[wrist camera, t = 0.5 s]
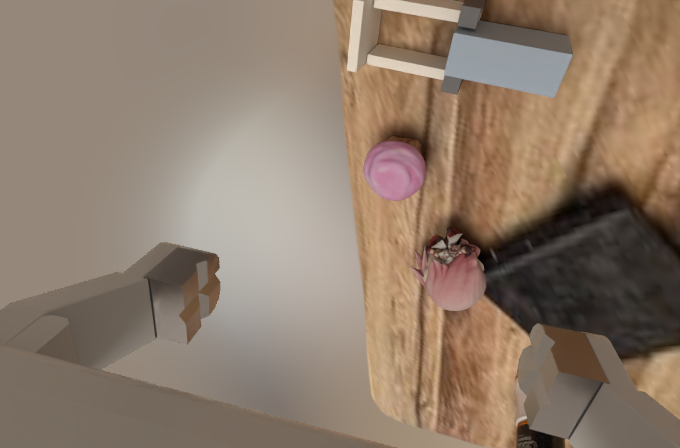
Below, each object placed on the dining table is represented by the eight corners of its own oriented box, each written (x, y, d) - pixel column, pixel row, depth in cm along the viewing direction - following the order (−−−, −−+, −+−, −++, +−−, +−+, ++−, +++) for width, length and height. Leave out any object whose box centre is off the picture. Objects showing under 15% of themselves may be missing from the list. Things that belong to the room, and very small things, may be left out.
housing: (486, -3, 47) (479, 12, 41) (464, 77, 53) (454, 100, 47) (376, -21, 50) (354, -9, 44) (367, 57, 56) (346, 76, 50)
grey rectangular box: (568, 35, 46) (573, 54, 41) (551, 74, 49) (554, 97, 44) (463, 17, 49) (454, 32, 43) (453, 55, 52) (443, 74, 46)
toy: (397, 222, 70) (416, 289, 76) (400, 258, 60) (422, 331, 67) (468, 205, 67) (481, 277, 74) (483, 240, 58) (497, 318, 64)
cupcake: (436, 126, 58) (421, 158, 51) (432, 178, 64) (418, 214, 56) (376, 121, 61) (355, 151, 54) (377, 171, 67) (358, 205, 59)
